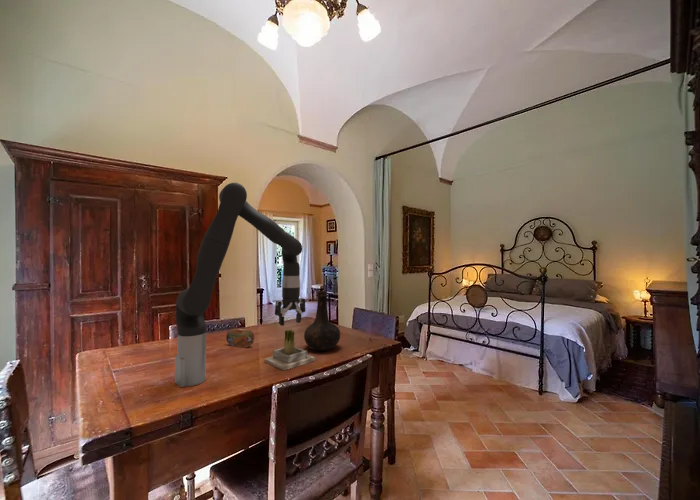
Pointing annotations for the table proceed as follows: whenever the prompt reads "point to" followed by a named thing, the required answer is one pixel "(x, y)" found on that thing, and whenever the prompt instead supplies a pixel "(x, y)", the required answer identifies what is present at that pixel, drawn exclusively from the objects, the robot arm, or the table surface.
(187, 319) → the robot arm
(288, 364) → the grey piece
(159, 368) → the table surface
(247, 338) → the tin
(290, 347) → the fennel bulb
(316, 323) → the glass bottle
